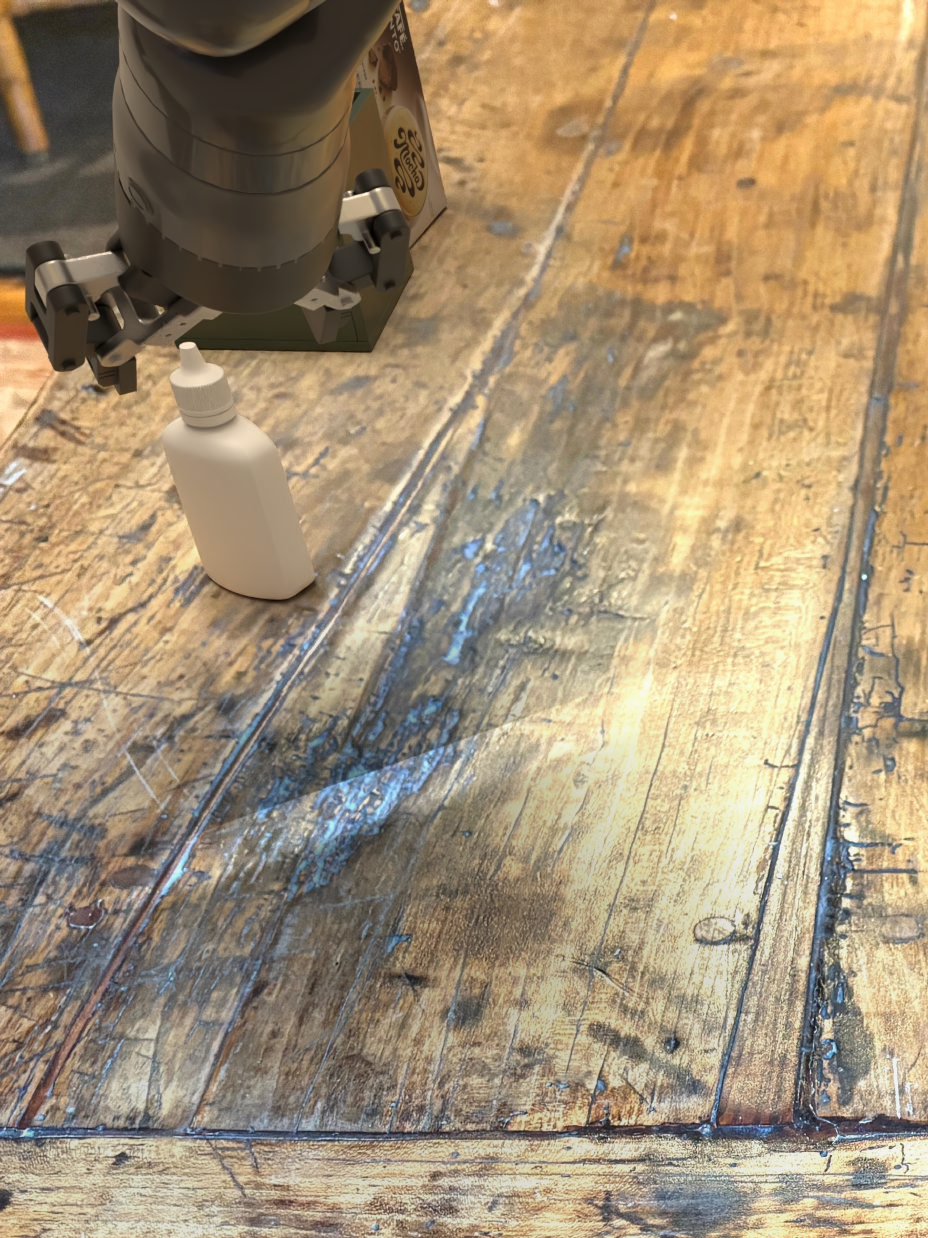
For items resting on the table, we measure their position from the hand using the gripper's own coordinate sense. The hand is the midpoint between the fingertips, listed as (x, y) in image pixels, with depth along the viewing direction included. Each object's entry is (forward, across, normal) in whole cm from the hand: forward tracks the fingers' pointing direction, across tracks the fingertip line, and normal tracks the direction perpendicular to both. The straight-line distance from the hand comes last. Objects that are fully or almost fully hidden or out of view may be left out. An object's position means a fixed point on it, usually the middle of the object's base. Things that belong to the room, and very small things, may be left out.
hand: (218, 346), depth 84 cm
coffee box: (+40, -20, -19) cm, 49 cm away
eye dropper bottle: (+15, 0, +6) cm, 16 cm away
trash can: (+34, -12, -14) cm, 39 cm away
